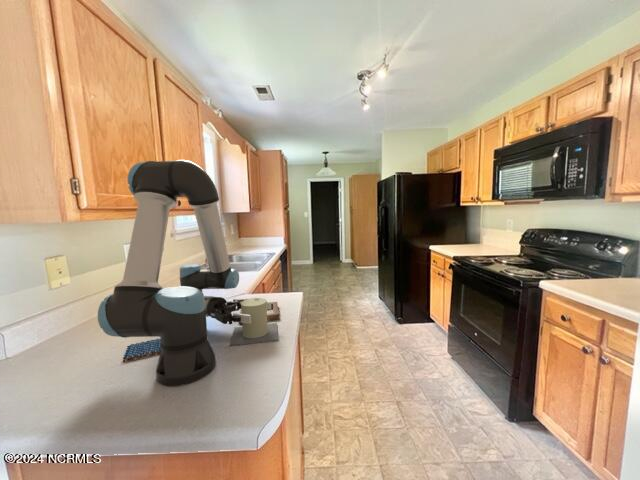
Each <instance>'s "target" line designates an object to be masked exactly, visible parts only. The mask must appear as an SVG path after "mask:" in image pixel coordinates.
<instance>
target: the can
mask: <svg viewBox="0 0 640 480" xmlns="http://www.w3.org/2000/svg"><path fill="white" fill-rule="evenodd" d="M246 299H247V300H244V301H242V302H241V309H240V311H241V312H242V314H247V315H251V323H250V324H248V323H241V324H242V325H241V327H242V330H243V332H242V335H243V336H244V337H246V338H258V337H262V336H264V335H266V334H267V333H268V325H267V324H268V321H267V314H268V312H267V311H268V309H267V299H265V298H263V297H254V298H253V297H251V298H246Z"/></svg>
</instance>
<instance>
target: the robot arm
mask: <svg viewBox="0 0 640 480" xmlns="http://www.w3.org/2000/svg"><path fill="white" fill-rule="evenodd" d="M127 184H128V185H129V186H128V189H129V191H130V193H131V194H132V195H133V199H134V200H135V202H137V208H136V212H135V219H134V221H133V229H132V233H131V237H130V238H131V239H130V243H129V248H128V251H127V252H128V253H127V259H126V263H125V268H124V271H123V278H122V280H121V281H120V282H119V283H117V284H116V285H114V289H113V293H111V294H109V295H107V296H105V297H104V300H102V301H101V302H100V303H99V306H98V309H97V321H98V322H97V323H98V325H99V328H101V329H102V331H103V333H105V334H106V335H108V336H111V337H118V338H119V337H120V338H122V339H123V338H124V339H125V338H134V337H135V338H138V337H139V338H142V337H146V338H147V337H150V338H151V337H154V338H155V337H159V339H160V340H161V353H159V357H158V361H157V365H156V367H155V368H156V369H155V376H156V381H157V383H158V384H160V385H162V386H165V387H179V386H186V385H189V384H191V383H195V382H198V381H199V380H201V379H203V378H205V377H207V375H209V374H211V373H212V372H213V370H214V369H215V368H216V364H217V360H216V353H215V352H214V349H213V347H212V346H211V343H210V341H209V339H208V338H209V337H208V328H207V327H208V325H207V318H209V317H210V318H212V319H215V320H216V321H218V322H220V323H221V324H223V325H226V324H227V325H233V322H235V323H239V322H241V323H240V324H242V323H248V324H250V323H251V315H247V314H240V313H236V312H237V311H240V310H241V302H242V301H244V300H247V299H248V298H233V299H232V301H229V300H228V301H227V300H226V298H225V297H222V296H220V297H219V296H213V295H212V296H211V295H204V292H203V290H228V289H236V288H237V287H238V286H239V282H240V272H239V271H238V270H237V269H236V268H232V267H231V264H230V258H229V254H228V250H227V244H226V240H225V236H224V230H223V227H222V221H221V216H220V213H219V212H220V211H219V207H218V203H219V201H220V198H219V193H218V189H217V187H216V185H215V182H214V181H213V180H212V178H211V177H210V175H209V174H208V173H207V171H205V170H204V169H203V168H202V167H201V166H199V165H198V164H196V163H194V162H192V161H190V160H185V159H178V160H163V161H162V160H161V161H155V160H147V161H141V162H138V163H135V164H134V165H132V166H131V168H130V169H129V171H128V174H127ZM178 198H186V199H187V202H188V205H189V206H190V207H192V209H193V211H194V216H195V219H196V223H197V227H198V231H199V235H200V238H201V241H202V245H203V249H204V254H205V258H206V261H207V265H208V269H202V266H201V265H200V264H197V263H194V264H193V263H192V264H191V263H190V264H186V265H183V266H181V267H180V268H179V283H180V285H179V286H178V285H177V286H169V287H164V288H163V287H162V286H161V284H160V283H159V277H160V272H161V267H162V266H161V264H162V259H163V252H164V246H165V241H166V233H167V230H168V229H167V228H168V223H169V222H168V221H169V216H170V210H171V209H173V208H175V207H176V205H177V200H178ZM266 301H267V300H266ZM271 302H272V301H267V310H271V309H272V308H271ZM233 312H234V313H233Z"/></svg>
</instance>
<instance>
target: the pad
mask: <svg viewBox="0 0 640 480" xmlns="http://www.w3.org/2000/svg"><path fill="white" fill-rule="evenodd" d="M267 325H268V333H267V334H266V335H264V336H262V337H258V338H246V337H244V336H243V335H242V332H243V330H242V326H236V327H234V329H233V331H232V335H231V338H230V342H229V348H231V347H238V346H239V347H240V346H247V345H255V344H257V345H258V344H263V343H264V344H265V343H273V342H278V341H279V335H278V323H277V322H276V323H273V322H272V323H267Z"/></svg>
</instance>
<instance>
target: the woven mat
mask: <svg viewBox="0 0 640 480" xmlns="http://www.w3.org/2000/svg"><path fill="white" fill-rule="evenodd" d="M160 353H161V340H160V338H155V339H151V340H146V341H142V342H136V343H131V344H129V345H127V348H126V349H125V352H124V355H123V357H122V359H123V360H122V362H123V363H127V362H129V361H131V362H132V361H133V360H134V361H136V360H138V359H139V360H140V359H146V358H149V357H153V356H154V355H155V356H158V354H160Z"/></svg>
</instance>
